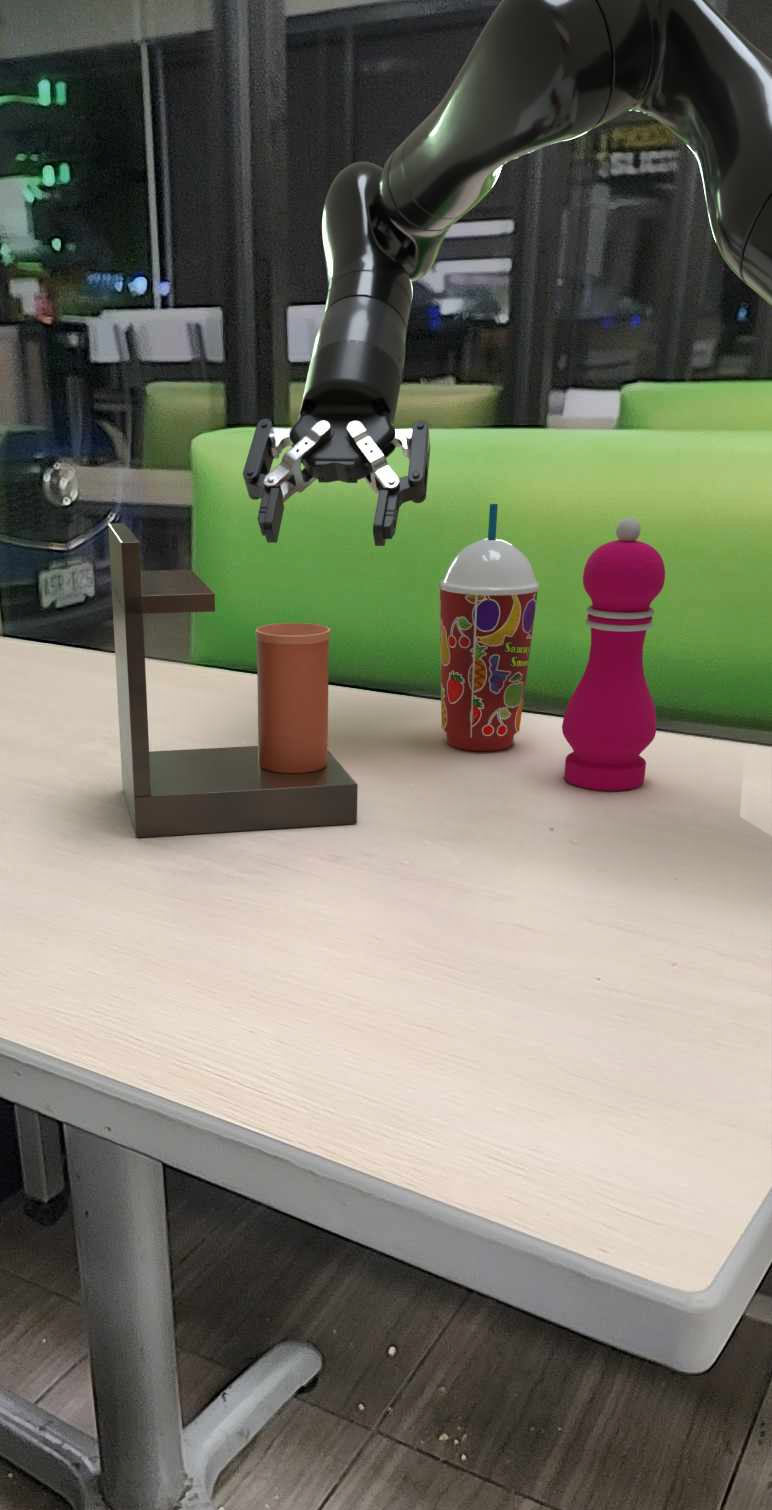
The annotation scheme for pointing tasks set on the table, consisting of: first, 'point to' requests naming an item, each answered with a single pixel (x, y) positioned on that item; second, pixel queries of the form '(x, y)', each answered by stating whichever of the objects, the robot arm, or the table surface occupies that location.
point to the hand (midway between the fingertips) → (323, 537)
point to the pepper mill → (615, 667)
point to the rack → (198, 781)
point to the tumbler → (292, 697)
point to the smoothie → (485, 642)
